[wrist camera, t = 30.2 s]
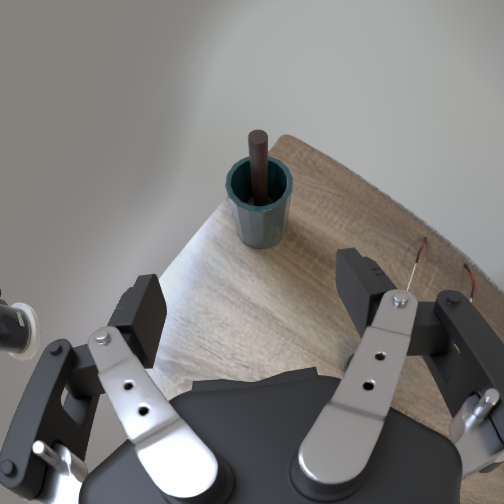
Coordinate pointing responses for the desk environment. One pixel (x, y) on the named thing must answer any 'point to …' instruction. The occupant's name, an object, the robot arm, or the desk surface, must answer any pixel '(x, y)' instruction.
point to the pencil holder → (259, 217)
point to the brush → (259, 168)
